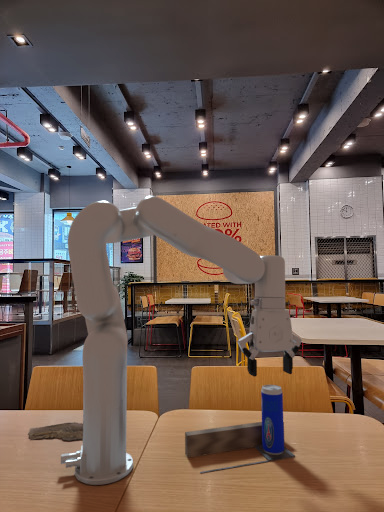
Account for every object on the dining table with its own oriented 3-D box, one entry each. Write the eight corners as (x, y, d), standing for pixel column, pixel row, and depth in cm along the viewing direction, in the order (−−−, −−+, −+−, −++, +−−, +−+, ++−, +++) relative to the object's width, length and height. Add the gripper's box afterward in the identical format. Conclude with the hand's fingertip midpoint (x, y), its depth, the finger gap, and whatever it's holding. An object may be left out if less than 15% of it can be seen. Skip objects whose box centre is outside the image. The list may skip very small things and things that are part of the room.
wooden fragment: (16, 440, 89) (16, 436, 89) (39, 423, 100) (39, 420, 100) (110, 444, 87) (110, 440, 87) (123, 426, 98) (123, 422, 98)
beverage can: (258, 448, 83) (256, 385, 84) (275, 443, 85) (273, 383, 86) (271, 457, 78) (269, 391, 79) (288, 453, 80) (286, 388, 82)
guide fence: (196, 474, 72) (195, 449, 73) (185, 453, 81) (185, 432, 82) (300, 456, 80) (300, 434, 80) (280, 438, 88) (279, 419, 89)
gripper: (244, 305, 79) (244, 380, 77) (308, 305, 83) (309, 375, 82) (232, 303, 86) (232, 372, 84) (291, 303, 90) (292, 368, 89)
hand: (270, 373), depth 83 cm, fingers open, 9 cm apart
